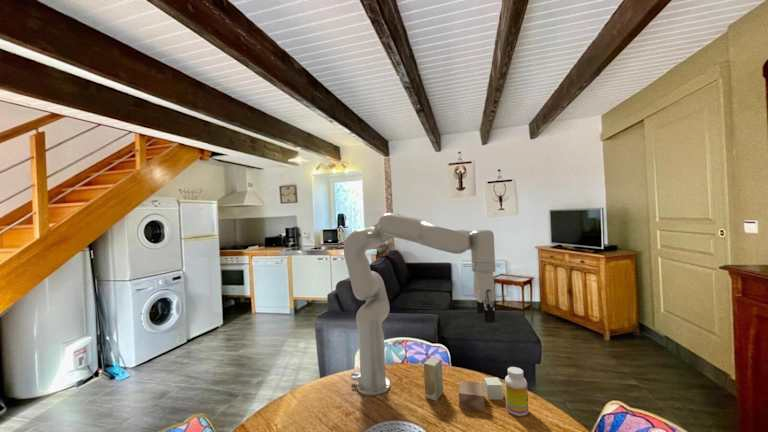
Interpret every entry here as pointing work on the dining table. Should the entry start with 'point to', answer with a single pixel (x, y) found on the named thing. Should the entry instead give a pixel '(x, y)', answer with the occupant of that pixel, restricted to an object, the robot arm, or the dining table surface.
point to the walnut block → (471, 395)
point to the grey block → (493, 388)
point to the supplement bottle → (516, 392)
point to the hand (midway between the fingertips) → (485, 317)
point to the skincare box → (433, 378)
